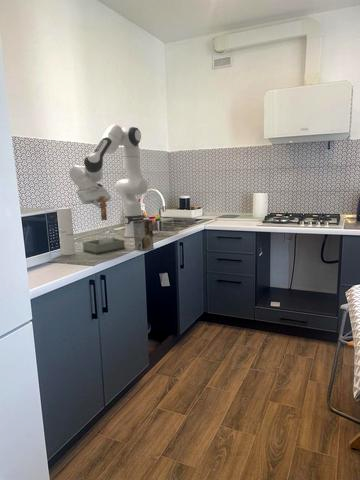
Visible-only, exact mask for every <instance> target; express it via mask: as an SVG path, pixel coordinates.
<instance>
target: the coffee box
mask: <svg viewBox="0 0 360 480" xmlns="http://www.w3.org/2000/svg"><path fill="white" fill-rule="evenodd" d="M133 226H134V237H133V238H134V239H133V240H134V251H140V252H144V251H148V250H152V249H154V247H155V245H154V234H153V219H152V220H150V219H144V220H140V221H135V222H133Z"/></svg>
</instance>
